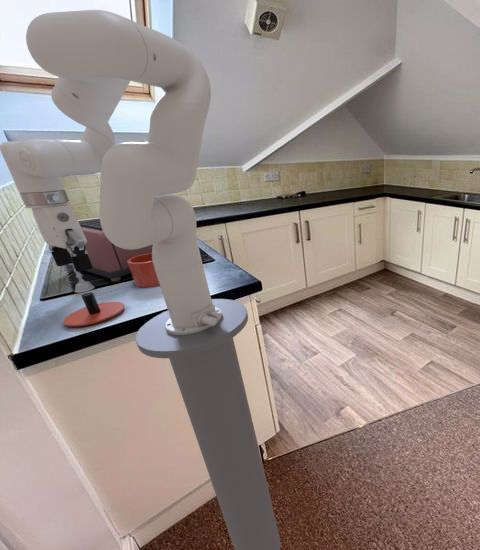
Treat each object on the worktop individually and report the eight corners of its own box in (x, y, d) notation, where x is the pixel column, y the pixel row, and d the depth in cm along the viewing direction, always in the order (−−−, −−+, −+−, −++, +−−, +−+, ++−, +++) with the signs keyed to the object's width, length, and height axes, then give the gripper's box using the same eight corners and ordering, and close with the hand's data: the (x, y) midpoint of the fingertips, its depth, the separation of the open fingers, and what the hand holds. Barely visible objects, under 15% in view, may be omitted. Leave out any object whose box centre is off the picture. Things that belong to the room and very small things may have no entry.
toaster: (206, 252, 132) (196, 212, 125) (112, 283, 102) (93, 232, 95) (165, 245, 145) (154, 208, 138) (71, 270, 115) (51, 224, 109)
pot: (182, 276, 106) (175, 254, 103) (148, 289, 97) (140, 265, 93) (162, 272, 111) (155, 250, 108) (128, 284, 101) (119, 260, 98)
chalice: (103, 286, 100) (82, 234, 93) (81, 294, 94) (57, 239, 87) (88, 284, 102) (66, 232, 95) (65, 292, 96) (40, 238, 89)
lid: (134, 309, 84) (126, 288, 82) (79, 332, 74) (69, 309, 71) (110, 301, 89) (102, 281, 87) (55, 322, 79) (44, 300, 76)
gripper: (85, 198, 69) (110, 267, 76) (50, 195, 76) (76, 258, 83) (41, 203, 63) (73, 278, 70) (8, 199, 70) (39, 267, 77)
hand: (75, 267), depth 76 cm, fingers open, 9 cm apart
